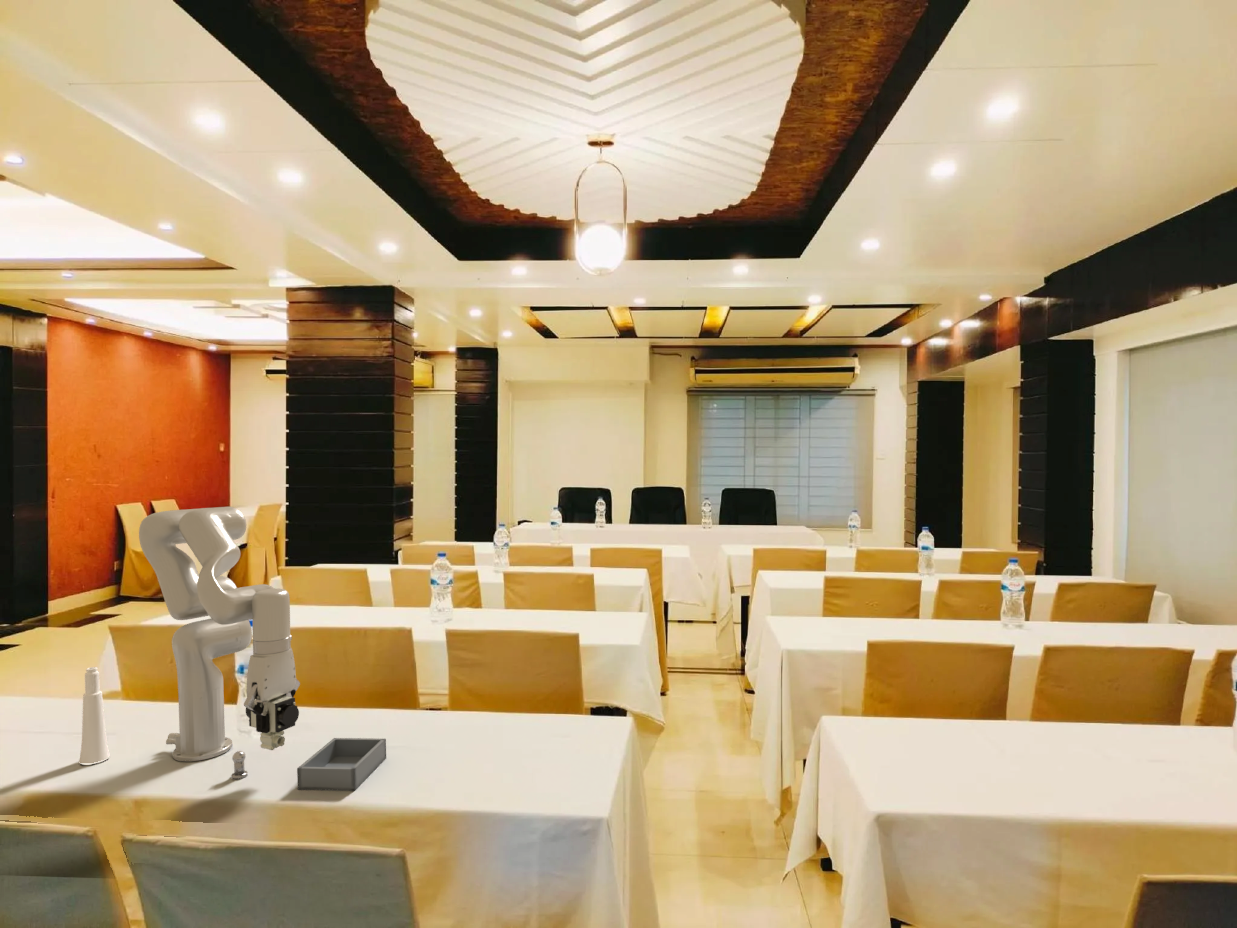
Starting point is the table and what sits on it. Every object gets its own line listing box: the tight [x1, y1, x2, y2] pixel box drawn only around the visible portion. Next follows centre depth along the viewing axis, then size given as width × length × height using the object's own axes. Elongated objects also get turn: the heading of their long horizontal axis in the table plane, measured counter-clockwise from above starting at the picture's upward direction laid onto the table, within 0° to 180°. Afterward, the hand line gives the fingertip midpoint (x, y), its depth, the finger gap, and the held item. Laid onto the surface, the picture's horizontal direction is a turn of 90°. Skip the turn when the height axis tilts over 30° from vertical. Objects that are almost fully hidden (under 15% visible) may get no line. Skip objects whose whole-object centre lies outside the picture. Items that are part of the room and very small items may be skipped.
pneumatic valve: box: [245, 695, 300, 751], centre depth 163 cm, size 6×12×12 cm, turn 65°
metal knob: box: [230, 750, 249, 781], centre depth 163 cm, size 3×3×6 cm
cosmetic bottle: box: [78, 666, 111, 763], centre depth 174 cm, size 6×6×22 cm
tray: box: [296, 737, 387, 792], centre depth 164 cm, size 13×17×5 cm
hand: (273, 726), depth 163 cm, fingers closed on pneumatic valve, 5 cm apart
